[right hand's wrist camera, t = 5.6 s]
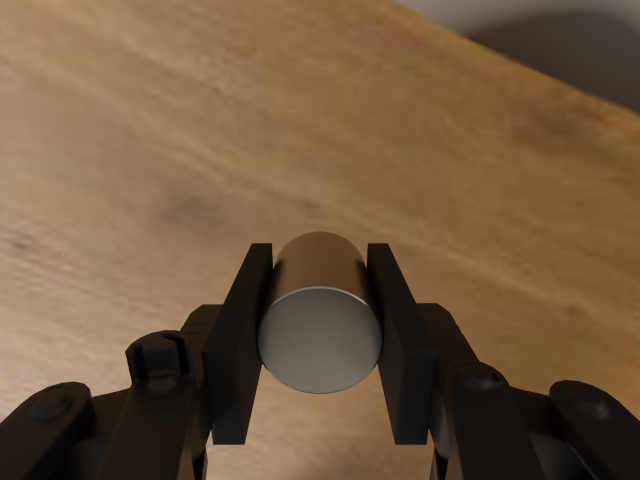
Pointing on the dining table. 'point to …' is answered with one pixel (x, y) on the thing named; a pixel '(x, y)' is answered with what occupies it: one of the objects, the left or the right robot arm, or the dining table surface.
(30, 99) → the dining table surface
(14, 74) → the dining table surface
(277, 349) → the canister
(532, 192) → the dining table surface
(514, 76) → the dining table surface
